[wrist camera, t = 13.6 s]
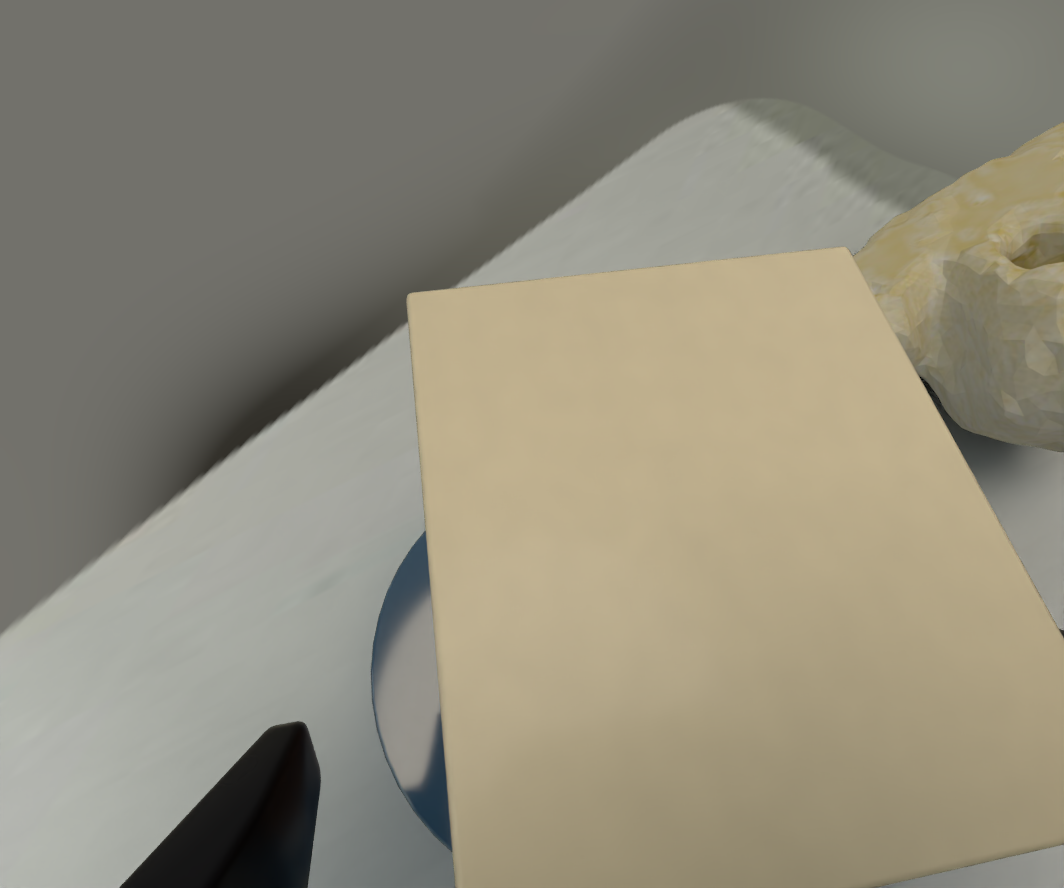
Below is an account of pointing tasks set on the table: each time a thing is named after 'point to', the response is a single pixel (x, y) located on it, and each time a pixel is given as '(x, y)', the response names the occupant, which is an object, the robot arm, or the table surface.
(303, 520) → the table surface
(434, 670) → the plate
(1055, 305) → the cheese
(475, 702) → the tan and brown block
